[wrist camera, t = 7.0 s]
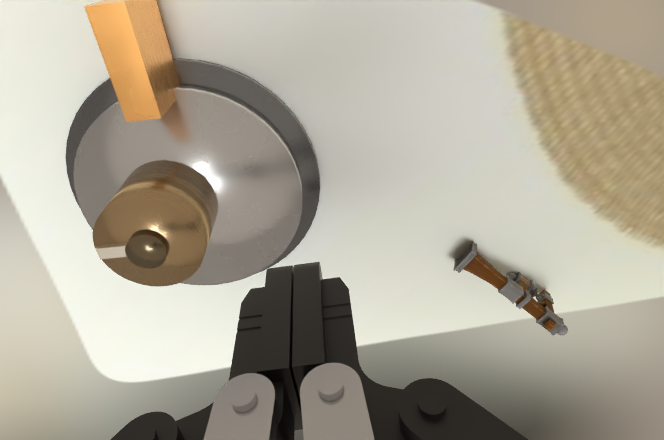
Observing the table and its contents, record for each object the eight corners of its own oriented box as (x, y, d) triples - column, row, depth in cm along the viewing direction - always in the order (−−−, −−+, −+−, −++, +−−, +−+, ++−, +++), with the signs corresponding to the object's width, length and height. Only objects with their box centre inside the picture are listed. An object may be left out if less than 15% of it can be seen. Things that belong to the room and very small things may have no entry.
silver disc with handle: (314, 261, 28) (315, 303, 25) (128, 282, 28) (105, 326, 25) (271, -23, 20) (264, -15, 16) (3, 8, 20) (-56, 22, 16)
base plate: (302, 43, 22) (302, 45, 21) (330, 265, 29) (331, 269, 29) (21, 75, 22) (17, 77, 21) (121, 288, 29) (120, 292, 29)
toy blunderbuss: (547, 312, 32) (557, 349, 28) (456, 245, 32) (453, 271, 28) (566, 295, 31) (579, 331, 27) (473, 227, 31) (472, 251, 27)
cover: (206, 155, 23) (185, 200, 19) (227, 235, 25) (213, 288, 21) (109, 165, 23) (68, 211, 19) (140, 244, 25) (110, 299, 21)
